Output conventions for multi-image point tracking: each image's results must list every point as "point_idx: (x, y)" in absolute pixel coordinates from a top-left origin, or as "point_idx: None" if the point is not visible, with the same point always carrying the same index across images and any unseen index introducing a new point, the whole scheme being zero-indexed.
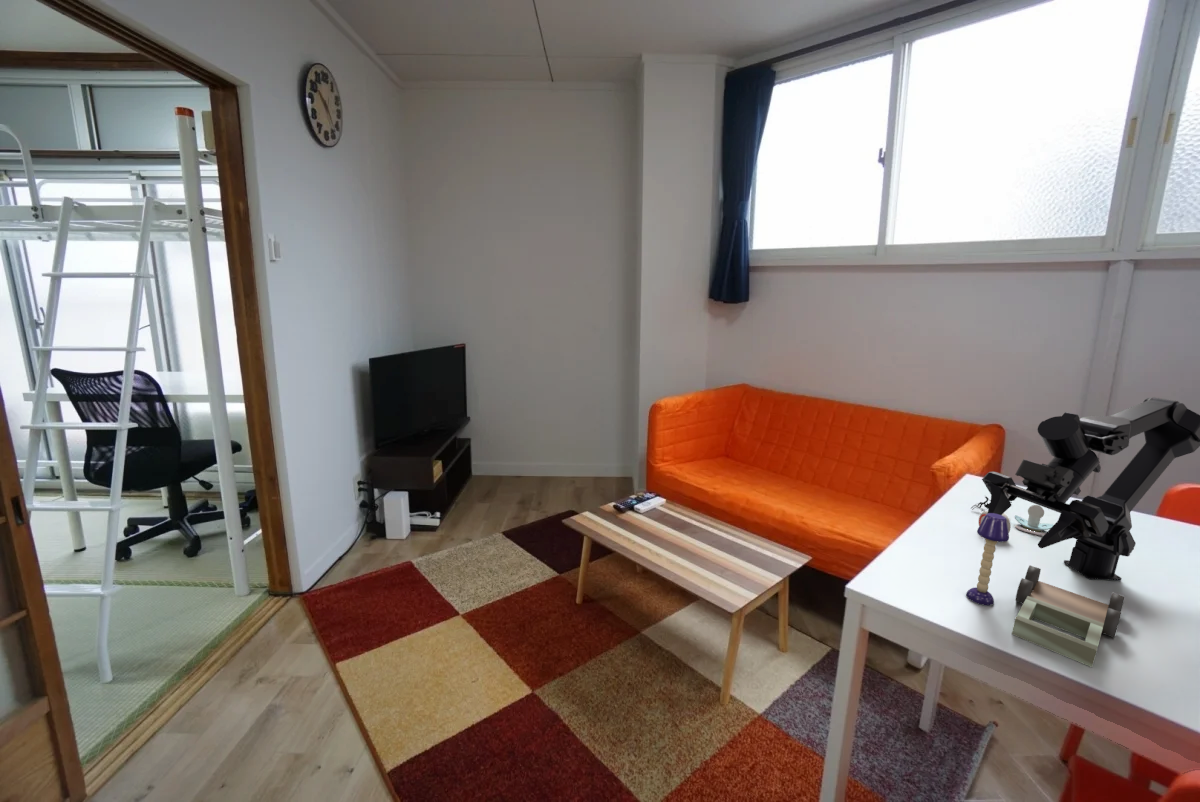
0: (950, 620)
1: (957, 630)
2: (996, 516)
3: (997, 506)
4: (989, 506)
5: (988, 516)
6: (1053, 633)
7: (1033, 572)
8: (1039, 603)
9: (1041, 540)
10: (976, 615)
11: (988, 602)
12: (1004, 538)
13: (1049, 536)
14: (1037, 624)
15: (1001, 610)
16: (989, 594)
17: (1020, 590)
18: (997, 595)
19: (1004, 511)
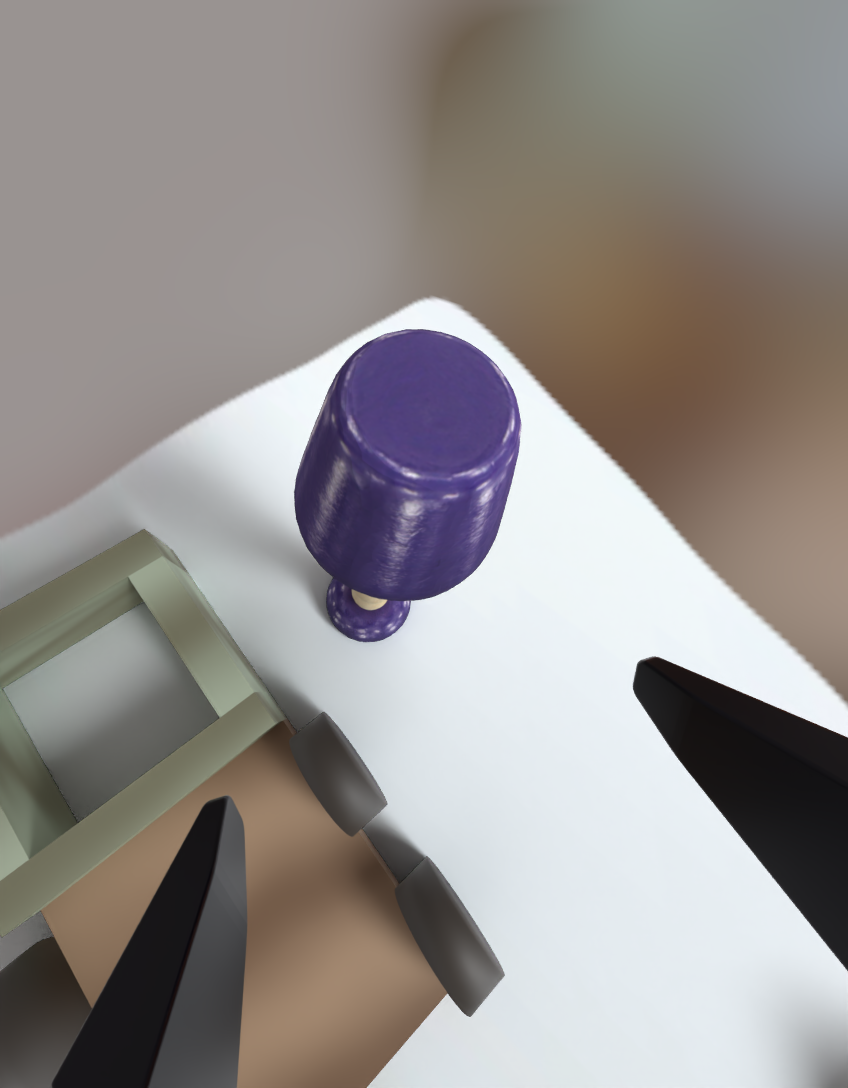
0: (270, 421)
1: (223, 406)
2: (416, 387)
3: (844, 810)
4: (841, 736)
5: (436, 334)
6: (24, 597)
7: (430, 924)
8: (212, 727)
9: (204, 838)
10: (283, 516)
11: (328, 595)
12: (296, 494)
13: (132, 941)
14: (89, 582)
15: (299, 627)
16: (347, 608)
17: (315, 723)
18: (389, 692)
19: (838, 951)
